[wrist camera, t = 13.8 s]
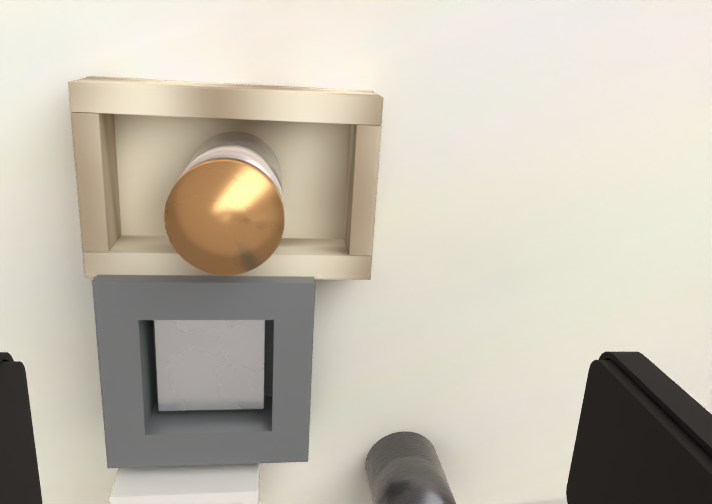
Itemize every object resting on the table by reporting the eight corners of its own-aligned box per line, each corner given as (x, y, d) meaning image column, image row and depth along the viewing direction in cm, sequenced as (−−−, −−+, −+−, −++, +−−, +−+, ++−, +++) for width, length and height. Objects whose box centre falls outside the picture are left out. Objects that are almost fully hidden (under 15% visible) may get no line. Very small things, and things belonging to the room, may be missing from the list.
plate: (264, 309, 29) (264, 316, 28) (263, 399, 30) (263, 408, 29) (157, 308, 28) (153, 316, 27) (161, 401, 29) (158, 411, 29)
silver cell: (282, 133, 27) (285, 164, 21) (280, 220, 28) (283, 275, 22) (188, 129, 27) (161, 159, 20) (191, 218, 28) (166, 275, 21)
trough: (372, 91, 28) (383, 97, 25) (361, 257, 30) (370, 280, 27) (90, 76, 26) (68, 81, 23) (103, 254, 29) (84, 278, 26)
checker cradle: (310, 254, 30) (315, 283, 26) (304, 415, 33) (307, 461, 29) (114, 251, 29) (92, 281, 25) (126, 419, 31) (107, 468, 28)
